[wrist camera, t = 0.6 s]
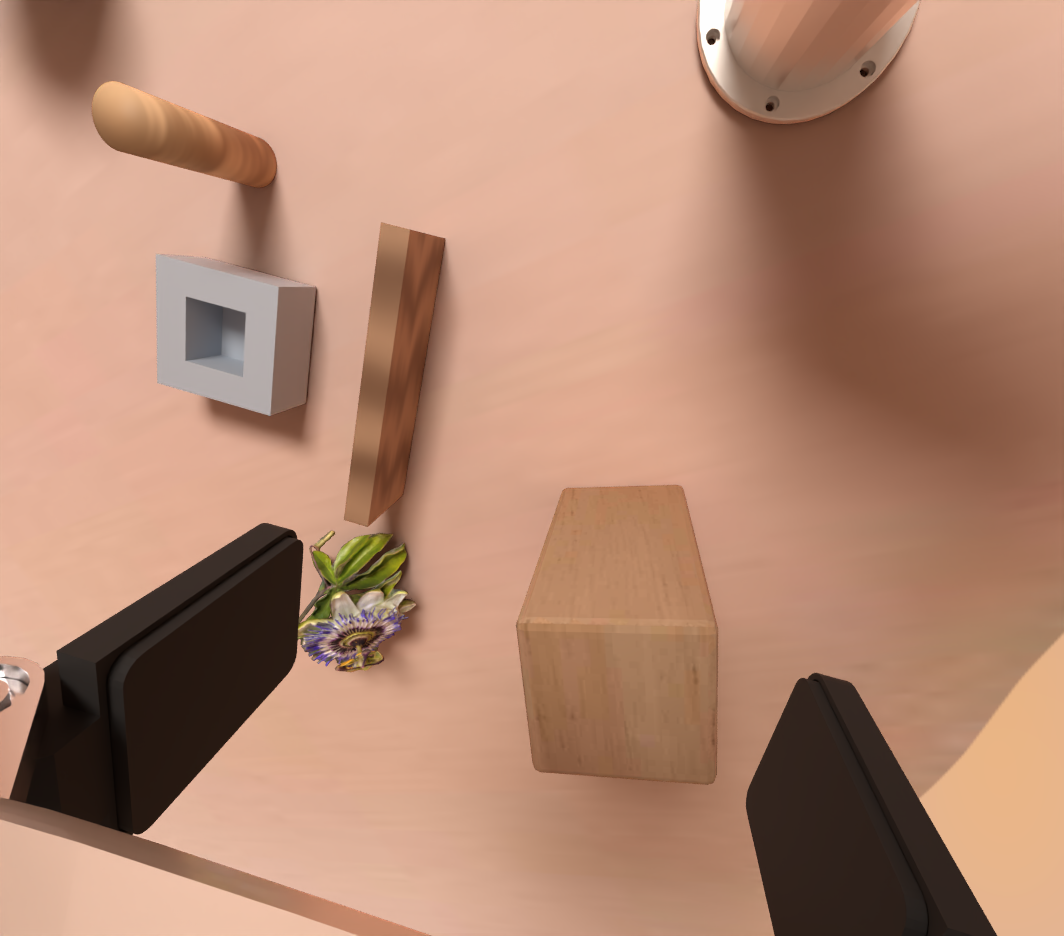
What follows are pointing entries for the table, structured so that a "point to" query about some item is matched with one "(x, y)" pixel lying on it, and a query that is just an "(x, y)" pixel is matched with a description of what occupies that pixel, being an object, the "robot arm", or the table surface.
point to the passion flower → (354, 603)
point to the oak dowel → (179, 136)
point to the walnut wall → (392, 369)
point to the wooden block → (621, 640)
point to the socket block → (233, 333)
